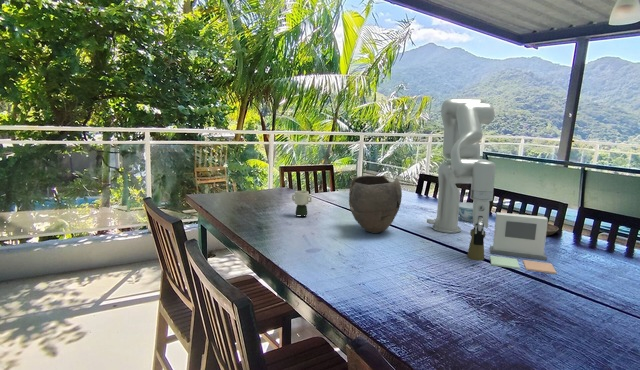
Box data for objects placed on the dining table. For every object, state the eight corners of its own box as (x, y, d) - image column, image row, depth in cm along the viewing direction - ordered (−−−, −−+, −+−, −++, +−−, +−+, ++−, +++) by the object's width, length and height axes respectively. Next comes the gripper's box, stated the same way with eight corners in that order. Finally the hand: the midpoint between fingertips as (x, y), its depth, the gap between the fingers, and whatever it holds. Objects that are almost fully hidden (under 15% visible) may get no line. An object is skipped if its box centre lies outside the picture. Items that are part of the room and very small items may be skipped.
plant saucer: (540, 225, 192) (541, 219, 192) (568, 237, 172) (569, 230, 171) (500, 225, 191) (500, 218, 191) (523, 237, 171) (523, 230, 171)
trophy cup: (313, 216, 199) (314, 191, 197) (308, 219, 193) (309, 193, 191) (294, 213, 203) (295, 189, 201) (288, 216, 197) (289, 191, 194)
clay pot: (404, 229, 179) (408, 176, 175) (391, 243, 157) (395, 183, 153) (356, 222, 189) (358, 172, 185) (337, 234, 167) (339, 178, 163)
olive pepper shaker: (486, 261, 139) (488, 231, 137) (468, 259, 140) (471, 230, 138) (482, 255, 145) (485, 227, 143) (465, 254, 146) (468, 226, 144)
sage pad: (491, 265, 135) (491, 263, 135) (489, 257, 144) (490, 255, 143) (519, 269, 132) (519, 267, 132) (516, 260, 140) (516, 259, 140)
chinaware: (452, 221, 196) (454, 206, 194) (454, 215, 209) (455, 201, 208) (484, 225, 190) (486, 209, 189) (484, 218, 204) (485, 204, 202)
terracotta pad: (526, 270, 131) (526, 268, 131) (522, 261, 140) (522, 259, 140) (556, 274, 128) (556, 272, 128) (550, 265, 137) (551, 263, 137)
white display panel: (490, 253, 148) (494, 214, 146) (489, 248, 154) (493, 211, 151) (546, 260, 141) (551, 220, 139) (543, 255, 147) (548, 216, 145)
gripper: (494, 200, 129) (490, 249, 132) (491, 192, 145) (487, 236, 148) (470, 198, 132) (466, 246, 134) (470, 191, 148) (466, 234, 150)
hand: (477, 241), depth 141 cm, fingers open, 9 cm apart
